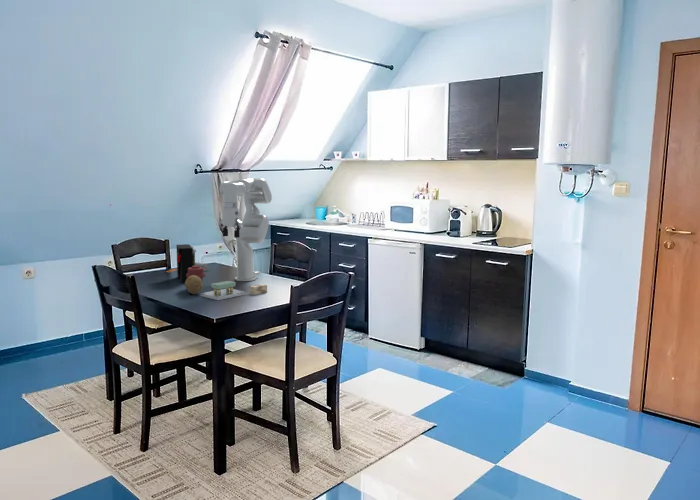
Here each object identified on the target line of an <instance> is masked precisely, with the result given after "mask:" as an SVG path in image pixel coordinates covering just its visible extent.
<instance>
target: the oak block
mask: <svg viewBox="0 0 700 500" xmlns="http://www.w3.org/2000/svg"><path fill="white" fill-rule="evenodd" d="M265 293H268V284H264V283H261V284H256V285H251V286H249V294H250V295H253V296H255V295H260V294H265Z"/></svg>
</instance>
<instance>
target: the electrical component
mask: <svg viewBox="0 0 700 500" xmlns="http://www.w3.org/2000/svg"><path fill="white" fill-rule="evenodd" d="M175 247H176V274H177V275H176V276H177V277H178V278H177V280H180V282H181V284H185V281H186V279H187V277H186V274H187V273H188V268H190V267H192V266H195V262H196V254H195V253H196V252H197V250H196V249H195V248H194V246H193V245H192V244H189V243H188V244H176V246H175Z"/></svg>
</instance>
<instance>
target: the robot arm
mask: <svg viewBox="0 0 700 500" xmlns="http://www.w3.org/2000/svg"><path fill="white" fill-rule="evenodd" d="M219 192H220V194H221V196H222V198H223V209H222V219H221V220H219V221H220V226H221V229H222V237H228V236H229V228H228V227H230V228H231V227H233V232H234V233H233V237H234V238H235V241H236V264H237V265H236V269H237V270H236V271H237V272H236V274H237V276H235V277H234V280H235V281H238V282H251V281H255V280H257V277H256V276H257V275H260V271H254V248H253V247H252V245H251V244H262V243H263V242H264V241H265V238H266V235H267V232H268V229H269V225H270V222H269V221H270V220H269V218H268V216H267V215H264V214H261V211H260V209H259V208H258V206H257V205H256V204H258V205H261V204H263V205H264V204H270V203H271V202H272V199H273V196H272V191H271V189H270V187H269V184H268V182H267V180H266V179H264V178H261V177H260V178H255V177H254V178H253V177H251V178H250V177H248V178H244V179H237V180H229V181H228V180H227V181H223V182H221V184H220V185H219ZM238 197H243V200H244V206H245V207H244V208H245V212H244V215H243V218H242V221H241V217H240V216H241V215H240V210H239V209H240V208H239V206H238V204H239V203H238V200H239V199H238Z"/></svg>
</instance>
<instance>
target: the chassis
mask: <svg viewBox="0 0 700 500" xmlns="http://www.w3.org/2000/svg"><path fill="white" fill-rule="evenodd" d="M245 295H247V291H243V290H239V289H235V288H234V286H233V287H228V288H223V289H215V288H213V290H211V291H205V292H201V293H200V297H203V298H207V299H211V300H215V301H221V300H226V299H231V298H235V297H236V298H237V297H240V296H245Z"/></svg>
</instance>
